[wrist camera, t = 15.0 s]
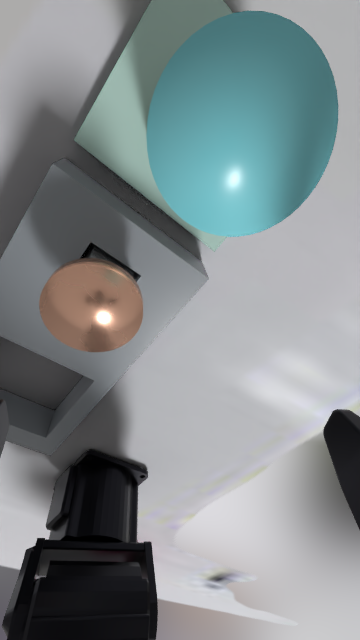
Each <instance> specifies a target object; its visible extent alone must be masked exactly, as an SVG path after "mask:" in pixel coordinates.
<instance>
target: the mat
mask: <svg viewBox="0 0 360 640" xmlns="http://www.w3.org/2000/svg"><path fill="white" fill-rule="evenodd" d="M232 13H233V12H232V11H231V9H230V8H229V7H228V6H227V4H226V3H225V2H224V1H223V0H151V2H150V4H149V5H148V7H147V9H146V11H145V13H144V14H143V16H142V18H141V20H140V22H139V23H138V25H137V27H136V29H135V31H134V32H133V34H132V36H131V38H130V40H129V41H128V43H127V45H126V47H125V49H124V50H123V52H122V54H121V56H120V58H119V59H118V61H117V63H116V65H115V67H114V68H113V70H112V72H111V74H110V76H109V77H108V79H107V81H106V83H105V85H104V86H103V88H102V90H101V92H100V94H99V95H98V97H97V99H96V101H95V103H94V104H93V106H92V108H91V110H90V111H89V113H88V115H87V117H86V119H85V120H84V122H83V124H82V126H81V128H80V129H79V131H78V133H77V135H76V137H75V138H74V141H75V142H77V143H78V144H79V145H80V146H82V147H83V148H84V149H85V150H87V151H88V152H89V153H90V154H92V155H93V156H94V157H96V158H97V159H98V160H99V161H101V162H102V163H103V164H104V165H106V166H107V167H108V168H109V169H111V170H112V171H113V172H114V173H116V174H117V175H118V176H119V177H121V178H122V179H123V180H125V181H126V182H127V183H128V184H130V185H131V186H132V187H133V188H135V189H136V190H137V191H138V192H140V193H141V194H142V195H143V196H145V197H146V198H147V199H148V200H150V201H151V202H152V203H154V204H155V205H156V206H157V207H159V208H160V209H161V210H162V211H164V212H165V213H166V214H167V215H169V216H170V217H171V218H172V219H174V220H175V221H176V222H177V223H179V224H180V225H181V226H183V227H184V228H185V229H186V230H188V231H189V232H190V233H191V234H193V235H194V236H195V237H196V238H198V239H199V240H200V241H201V242H203V243H204V244H205V245H206V246H208V247H209V248H210V249H212V250H213V251H214V252H215V251H216V249H217V248H218V247H219V246H220V245H221V244H222V242H223V241H224V240H225V239H226V238H227V236H218V235H214V234H210V233H206V232H204V231H201V230H199V229H197V228H195V227H193V226H192V225H190V224H188V223H187V222H186V221H184V220H183V219H182V218H180V217H179V216H178V215H177V214H176V213H175V212H174V211H173V210H172V209H171V207H170V206H169V205H168V204H167V202H166V201H165V200H164V198H163V196H162V194H161V193H160V191H159V189H158V187H157V185H156V182H155V180H154V178H153V175H152V171H151V168H150V164H149V158H148V152H147V137H146V134H147V120H148V114H149V108H150V104H151V100H152V97H153V94H154V90H155V88H156V85H157V83H158V81H159V78H160V76H161V74H162V72H163V71H164V69H165V67H166V65H167V64H168V62H169V60H170V59H171V58H172V56H173V55H174V54H175V52H176V51H177V50H178V48H179V47H180V46H181V45H182V44H183V43H184V42H185V41H186V40H187V39H188V38H189V37H190V36H191V35H192V34H194V33H195V32H196V31H198V30H199V29H200V28H202V27H203V26H205V25H206V24H208V23H210V22H212V21H214V20H216V19H218V18H220V17H223V16H226V15H229V14H232Z"/></svg>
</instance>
